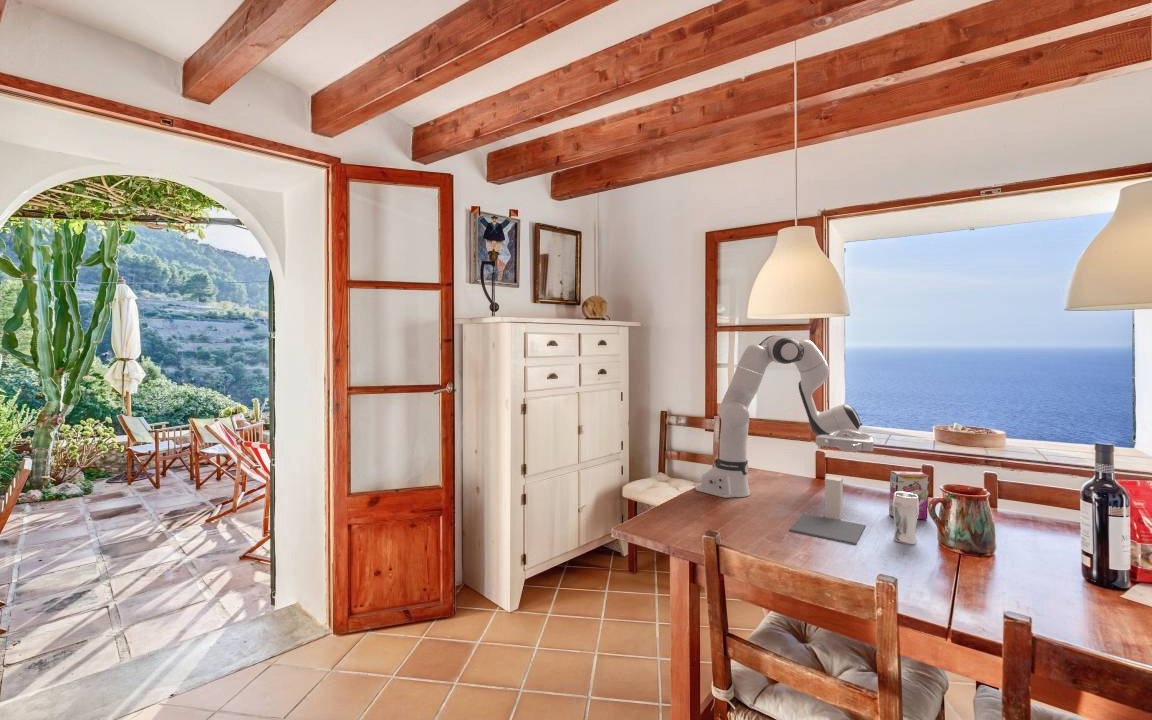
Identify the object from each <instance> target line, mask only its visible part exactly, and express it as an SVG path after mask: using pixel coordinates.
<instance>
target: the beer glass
mask: <svg viewBox="0 0 1152 720" xmlns="http://www.w3.org/2000/svg"><path fill="white" fill-rule="evenodd" d="M893 514H894V518H893V519H894V520H893V521H894V525H895V527H894V528H895V530H894V531H895V532H894V535H893V540H894V541H895V542H896V543H900V544H903V545H908V546H909V545H910V546H911V545H912V546H913V545H916V544H917V539H916V527H917V523H918V520H917V519H918V514H919V501H918V495H916V494H912V493H908V492H895V493H894V499H893Z"/></svg>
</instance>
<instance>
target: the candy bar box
mask: <svg viewBox="0 0 1152 720" xmlns="http://www.w3.org/2000/svg"><path fill="white" fill-rule="evenodd" d="M889 480H890V483H889V501H888V502H889V504H888V505H889V507H888V515H889V516H891V517H892V518H893V519H894V514H893V499H894V493H895V492H908V493H912V494H916V495H918V501H919V514H918V519H923V520H924V521H927V520H928V511H927V508H928V509H929V506H928V505H929V486H930V485H929V484H930V475H929V474H927V473H924V472H922V471H896V470H895V471H894V470H891V471H890V478H889ZM926 519H927V520H926ZM923 520H922V521H923Z"/></svg>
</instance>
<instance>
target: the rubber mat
mask: <svg viewBox="0 0 1152 720" xmlns="http://www.w3.org/2000/svg"><path fill="white" fill-rule="evenodd" d="M865 529H866V524H862V523H858V522H851V521H847V520H841V519H840V520H838V519H833V518H828V517H824V516H818V515H814V514H809V513H802V515H801V516H800V517H798V519H797V520H796V521H795V522H794V524H793V525H792V526H791V527H790V528H788V531H789V532H792V533H793V532H794V533H798V534H802V535H806V534H808V535H807V536H811V535H813V536H812V537H816V536H818V537H817V538H821V537H822V538H821V539H825V538H826V540H830V539H831V540H832V541H835V540H836V541H835V542H840V541H841V542H840V543H844V542H846V544H849V543H850V545H854V544H855V545H854V546H856V545H857V544H858V542H859V540H860V539H861V536H862V535H863V533H862V532H864V531H863V530H865Z"/></svg>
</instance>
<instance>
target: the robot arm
mask: <svg viewBox="0 0 1152 720" xmlns="http://www.w3.org/2000/svg"><path fill="white" fill-rule="evenodd" d="M772 362H774V363H777V364H784V365H787V364H792V363H793V364H794V365H795V366H796V369H797V370H798V373H799V374H800V380H799V382H798V391H799V395H800V398H801V401H802V403H803V404H802V405H803V407H804V410H805V412H806V416H807V418H808V419H807V420H808V422H809V427H810V429H811V431H812V433H813V434H814V435H817V436H815V445H817V446H821V447H829V448H838V449H839V450H840V451H842V452H846V453H847V452H848V453H849V452H859V451H860V452H873V451H874V438H873V437H872V436H873V435H872V434H870V433H869V434H868V433H865V432H863V430H862V428H861V425H862V424H861V422H862V421H861V419H860V417H859V414H858V413H857V411H856V410H855V408H853V407H852V406H850V405H848V404H845V403H844V404H840V405H837V406H834V407H832V408H829V409H826V410H823V411H818V409H817V407H816V403H815V401H814V398H813V394H814V392H815V391H816V390H817V389H819V388H820V387H821V386H822V385H823V384H824V383H825V382H826V381H827V380H828V377H829V376H830V371H831V370H830V367H829V364H828V362H827V361H826V359H825V357H824V356H823V353H822V352H821V351H820V349H819V348H818V347H817V346H816V345H815V343H814V342H813V341H811V339H810V340H809V339H802V340H799V341H797V340H796V339H793V338H791V337H786V336H785V335H784V336H783V335H770V336H768V337H766V338H765V339H763V341H761V342H760V343H759V344H750V345H748V346H747V347H746V349H745V350H744V352H743V354H742V355H741V357H740V358H739V360H738V364H737V366H736V369H735V371H734V374H733V376H732V379H731V381H730V384H729V386H728V388H727V390H726V392H725V394H724V397H723V398H722V400H721V402H720V405H719V408H718V416H719V418H720V433H719V456H718V457H717V458H716V459H714V461H713V464H714V466H713V467H711V468H710V469H709V470H708V471H706V472H705V473H704V474H702V476H701V480H700V482H699V483H698V484H696V485H695V489H694V490H695V491H697V492H701V493H704V494H709V495H713V496H716V497H721V498H724V499H726V498H742V497H743V498H744V497H748V496H750V495H751V490H750V487H749V481H748V472H749V464H748V462H749V460H748V459H747V458H748V457H747V456H748V437H749V426H750V412H749V407H750V405H751V403H752V402H753V399H754V397H755V396H756V394H758V390H759V387H760V386H761V383H762V380H763V378H764V376H765V375H764V374H765V372H766V369H767V368H768V366H769V365H770V363H772ZM835 432H836V433H835ZM832 433H833V434H834V433H835V434H834V435H832Z"/></svg>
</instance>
